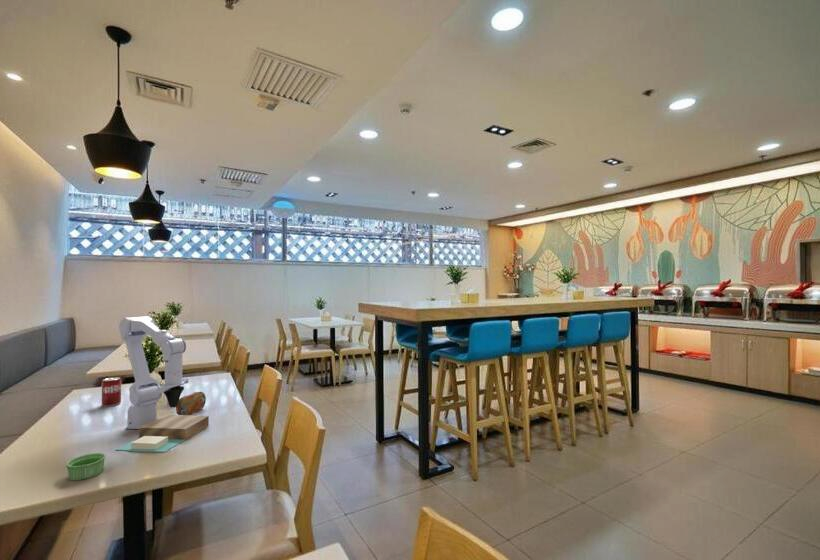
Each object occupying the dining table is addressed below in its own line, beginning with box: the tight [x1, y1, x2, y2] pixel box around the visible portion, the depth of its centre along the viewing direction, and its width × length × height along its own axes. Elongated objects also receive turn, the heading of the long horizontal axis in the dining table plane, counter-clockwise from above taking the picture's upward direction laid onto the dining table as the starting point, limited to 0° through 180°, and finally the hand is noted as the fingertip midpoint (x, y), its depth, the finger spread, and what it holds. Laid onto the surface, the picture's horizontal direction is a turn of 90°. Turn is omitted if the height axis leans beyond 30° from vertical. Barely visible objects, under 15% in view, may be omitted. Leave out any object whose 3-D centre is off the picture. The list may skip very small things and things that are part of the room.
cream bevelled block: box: [131, 436, 168, 450], centre depth 135 cm, size 9×6×2 cm, turn 85°
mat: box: [115, 437, 186, 453], centre depth 136 cm, size 18×10×1 cm, turn 85°
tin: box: [175, 391, 207, 415], centre depth 170 cm, size 15×3×8 cm, turn 168°
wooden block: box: [138, 414, 210, 441], centre depth 148 cm, size 18×14×4 cm
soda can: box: [101, 376, 122, 408], centre depth 182 cm, size 7×7×12 cm
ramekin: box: [66, 452, 106, 481], centre depth 116 cm, size 9×9×4 cm
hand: (173, 406), depth 148 cm, fingers closed
